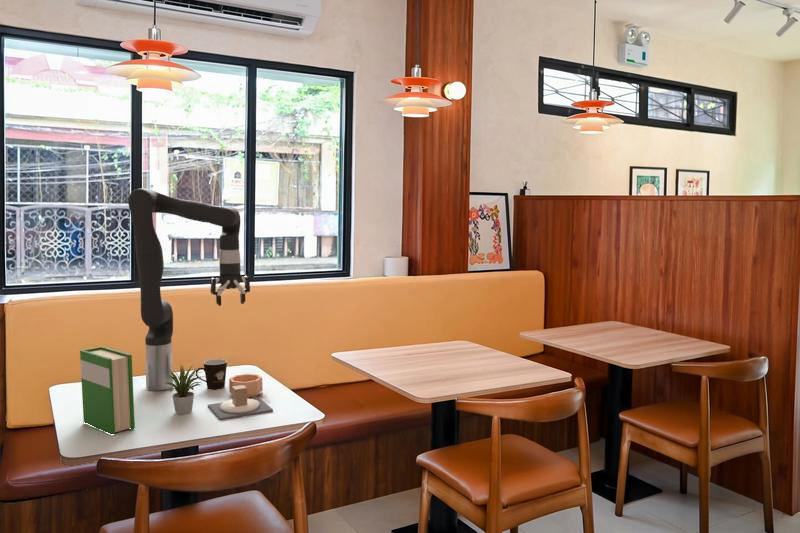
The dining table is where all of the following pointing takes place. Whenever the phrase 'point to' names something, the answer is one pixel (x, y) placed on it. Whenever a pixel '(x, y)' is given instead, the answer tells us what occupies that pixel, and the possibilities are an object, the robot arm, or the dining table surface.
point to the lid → (239, 401)
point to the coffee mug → (214, 373)
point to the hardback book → (107, 389)
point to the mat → (224, 415)
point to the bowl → (247, 383)
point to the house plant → (183, 391)
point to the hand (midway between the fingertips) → (230, 304)
